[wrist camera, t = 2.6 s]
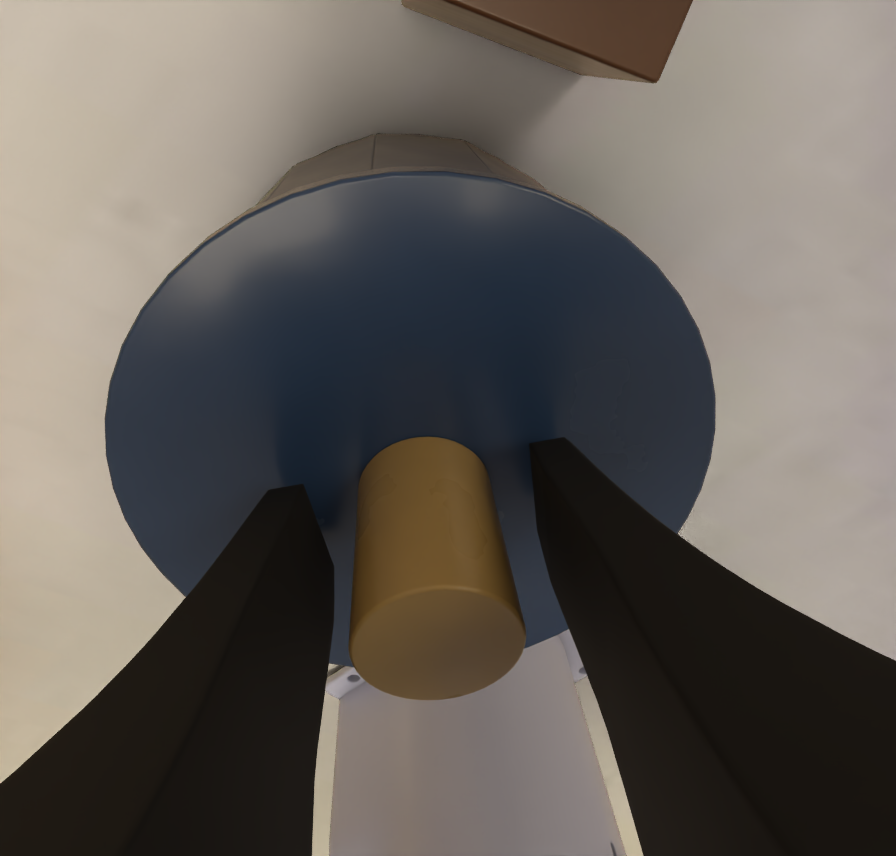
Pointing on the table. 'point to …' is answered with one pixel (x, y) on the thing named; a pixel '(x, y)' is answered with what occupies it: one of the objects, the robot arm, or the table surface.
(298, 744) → the robot arm
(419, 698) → the lid
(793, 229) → the table surface
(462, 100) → the table surface
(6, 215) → the table surface
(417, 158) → the cup
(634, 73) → the block
